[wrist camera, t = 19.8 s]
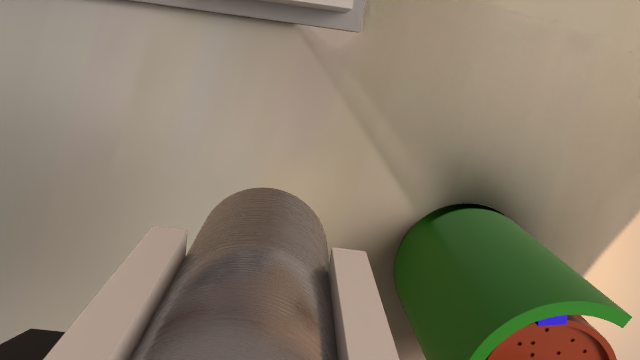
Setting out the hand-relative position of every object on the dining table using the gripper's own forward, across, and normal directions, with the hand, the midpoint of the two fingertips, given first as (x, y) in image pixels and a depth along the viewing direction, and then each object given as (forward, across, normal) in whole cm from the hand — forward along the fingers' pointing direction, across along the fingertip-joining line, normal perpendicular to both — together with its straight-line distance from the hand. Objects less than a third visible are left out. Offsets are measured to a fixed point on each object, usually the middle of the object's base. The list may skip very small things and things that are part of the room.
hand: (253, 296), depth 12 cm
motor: (+27, +14, -9) cm, 31 cm away
